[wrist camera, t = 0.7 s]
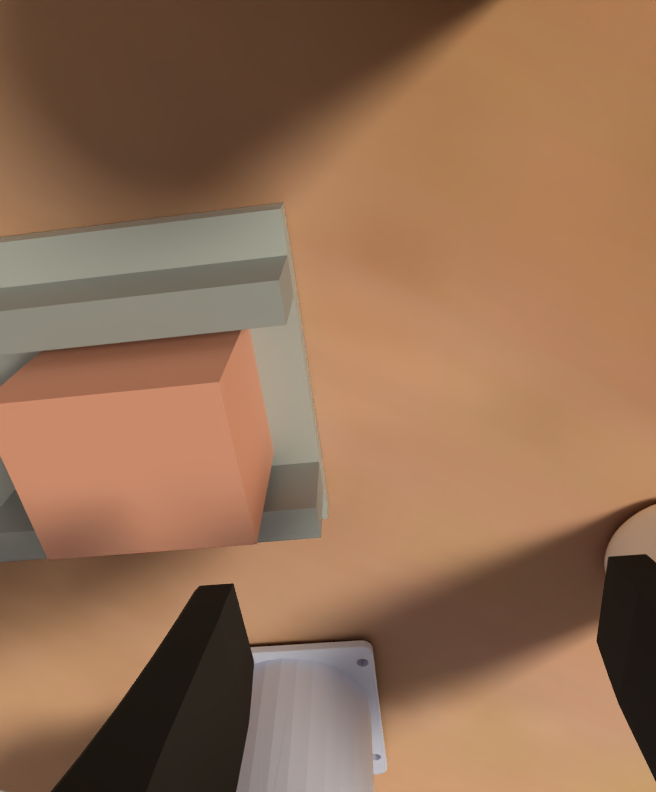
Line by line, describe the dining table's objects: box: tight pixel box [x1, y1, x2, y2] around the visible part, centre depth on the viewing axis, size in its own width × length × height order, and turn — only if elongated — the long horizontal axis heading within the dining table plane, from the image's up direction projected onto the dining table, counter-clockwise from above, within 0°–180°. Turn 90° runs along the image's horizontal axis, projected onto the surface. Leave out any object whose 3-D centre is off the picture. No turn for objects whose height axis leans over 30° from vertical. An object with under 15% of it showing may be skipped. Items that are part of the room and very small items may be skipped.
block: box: [0, 329, 274, 560], centre depth 17 cm, size 5×6×4 cm
